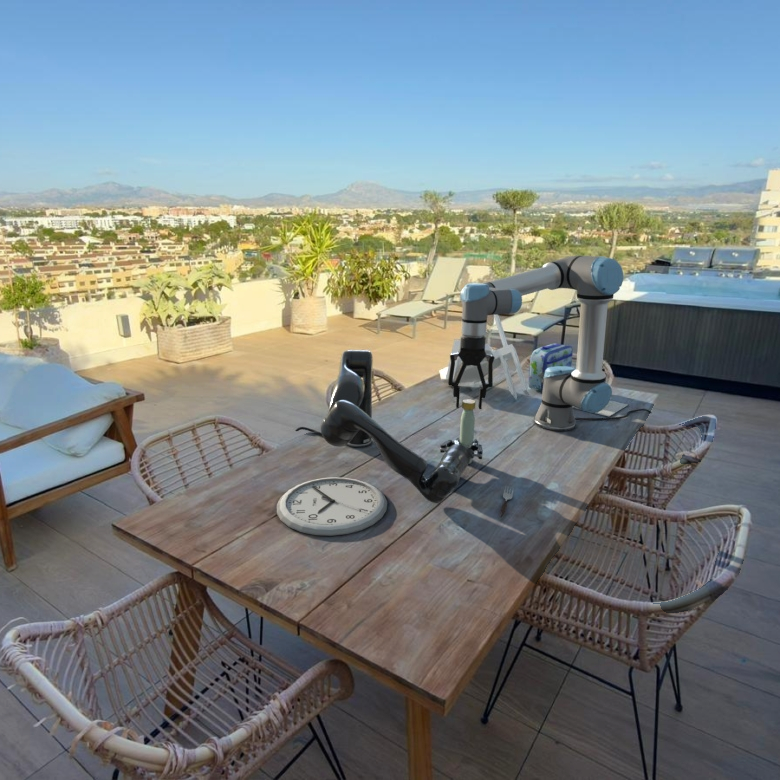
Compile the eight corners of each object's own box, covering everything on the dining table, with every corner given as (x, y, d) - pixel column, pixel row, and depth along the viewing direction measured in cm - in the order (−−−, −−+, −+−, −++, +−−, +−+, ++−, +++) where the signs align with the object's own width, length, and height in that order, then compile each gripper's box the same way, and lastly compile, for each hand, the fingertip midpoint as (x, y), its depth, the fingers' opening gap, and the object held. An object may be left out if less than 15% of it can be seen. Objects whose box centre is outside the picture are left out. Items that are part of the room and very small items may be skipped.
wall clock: (392, 527, 129) (268, 531, 127) (391, 533, 130) (269, 537, 127) (383, 473, 158) (282, 475, 155) (383, 478, 158) (282, 480, 156)
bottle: (460, 457, 174) (464, 400, 168) (473, 459, 172) (477, 402, 166) (456, 462, 170) (459, 404, 164) (469, 465, 169) (473, 406, 163)
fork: (495, 518, 138) (496, 511, 137) (504, 491, 152) (505, 484, 151) (505, 520, 137) (506, 513, 136) (513, 492, 151) (514, 486, 150)
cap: (476, 409, 164) (477, 403, 164) (464, 410, 164) (465, 403, 163) (472, 405, 168) (472, 398, 168) (460, 405, 167) (460, 399, 167)
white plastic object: (461, 429, 252) (437, 405, 227) (444, 352, 274) (420, 323, 250) (535, 404, 240) (518, 377, 215) (510, 326, 262) (492, 293, 237)
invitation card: (608, 416, 214) (573, 407, 224) (608, 416, 214) (573, 408, 224) (628, 404, 229) (594, 396, 238) (628, 405, 229) (594, 397, 238)
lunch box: (544, 395, 239) (549, 351, 233) (524, 390, 247) (528, 347, 240) (571, 384, 257) (577, 343, 251) (552, 380, 264) (556, 339, 258)
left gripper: (431, 468, 160) (446, 447, 176) (477, 476, 155) (489, 454, 171) (432, 445, 158) (447, 426, 173) (479, 453, 153) (490, 433, 168)
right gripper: (503, 334, 162) (498, 404, 169) (441, 332, 163) (437, 401, 170) (507, 339, 155) (500, 412, 161) (441, 336, 156) (438, 409, 163)
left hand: (468, 440), depth 172 cm, fingers closed on bottle, 4 cm apart
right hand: (468, 406), depth 166 cm, fingers open, 6 cm apart
